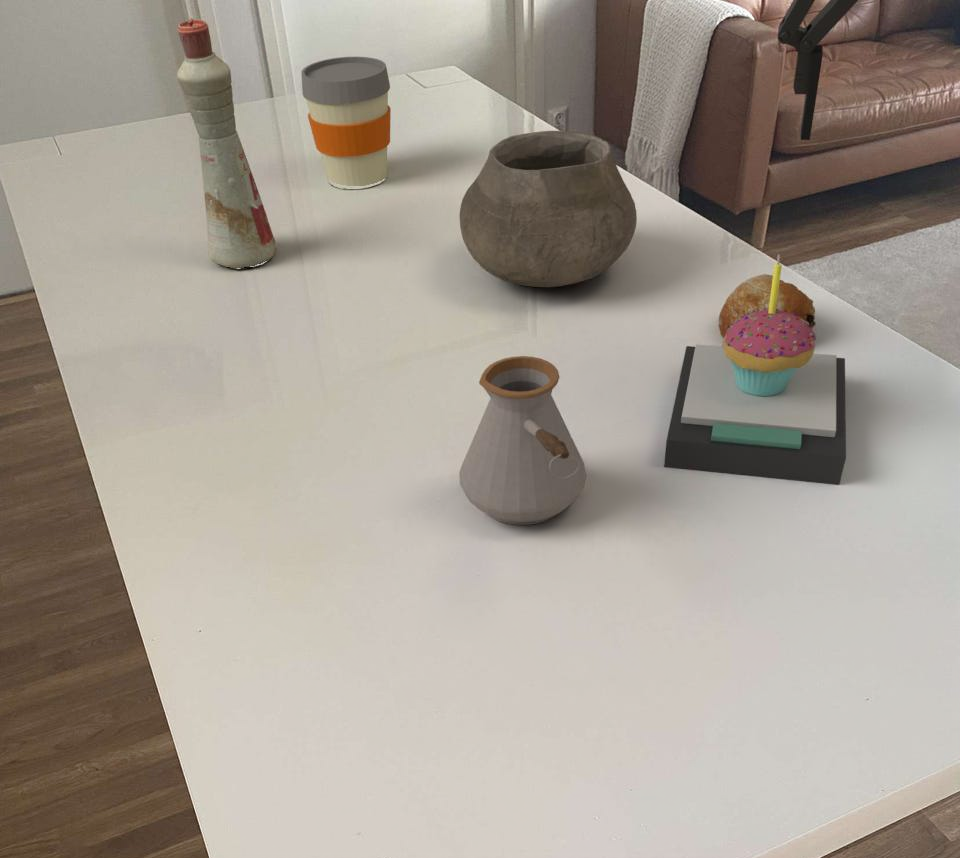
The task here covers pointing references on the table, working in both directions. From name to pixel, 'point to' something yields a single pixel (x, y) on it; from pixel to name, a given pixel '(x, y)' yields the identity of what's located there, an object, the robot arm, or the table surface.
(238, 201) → the bottle
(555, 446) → the coffee pot
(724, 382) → the scale
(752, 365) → the cupcake
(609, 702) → the table surface
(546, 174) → the clay pot
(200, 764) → the table surface
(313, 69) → the reusable coffee cup
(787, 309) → the bread roll
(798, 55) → the robot arm
